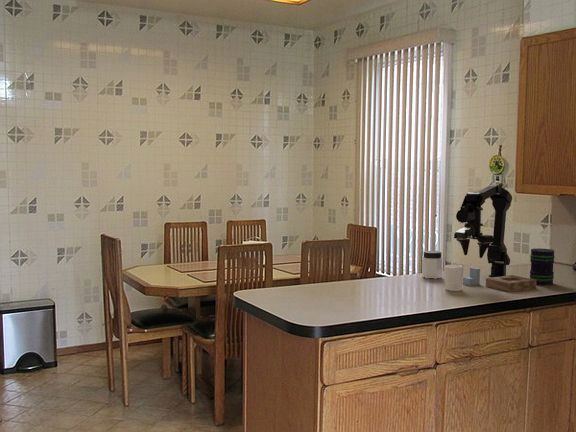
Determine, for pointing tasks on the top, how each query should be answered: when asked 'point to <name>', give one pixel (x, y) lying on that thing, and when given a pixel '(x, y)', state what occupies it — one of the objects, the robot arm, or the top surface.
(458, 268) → the white cup
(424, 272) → the jar
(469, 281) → the grey stepped block
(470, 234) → the robot arm
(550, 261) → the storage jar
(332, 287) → the top surface
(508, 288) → the well block
